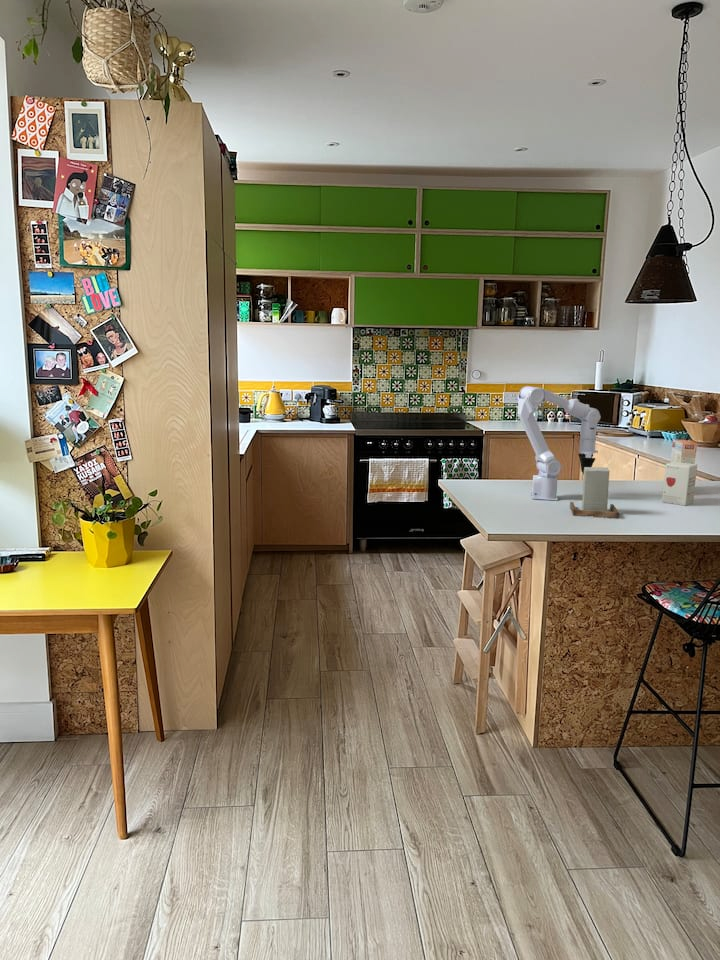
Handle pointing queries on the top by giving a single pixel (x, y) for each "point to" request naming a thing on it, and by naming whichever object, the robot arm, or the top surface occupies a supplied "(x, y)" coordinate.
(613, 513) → the walnut bay
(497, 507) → the top surface
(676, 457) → the cracker box
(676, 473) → the supplement box
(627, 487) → the top surface
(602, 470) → the skincare box
